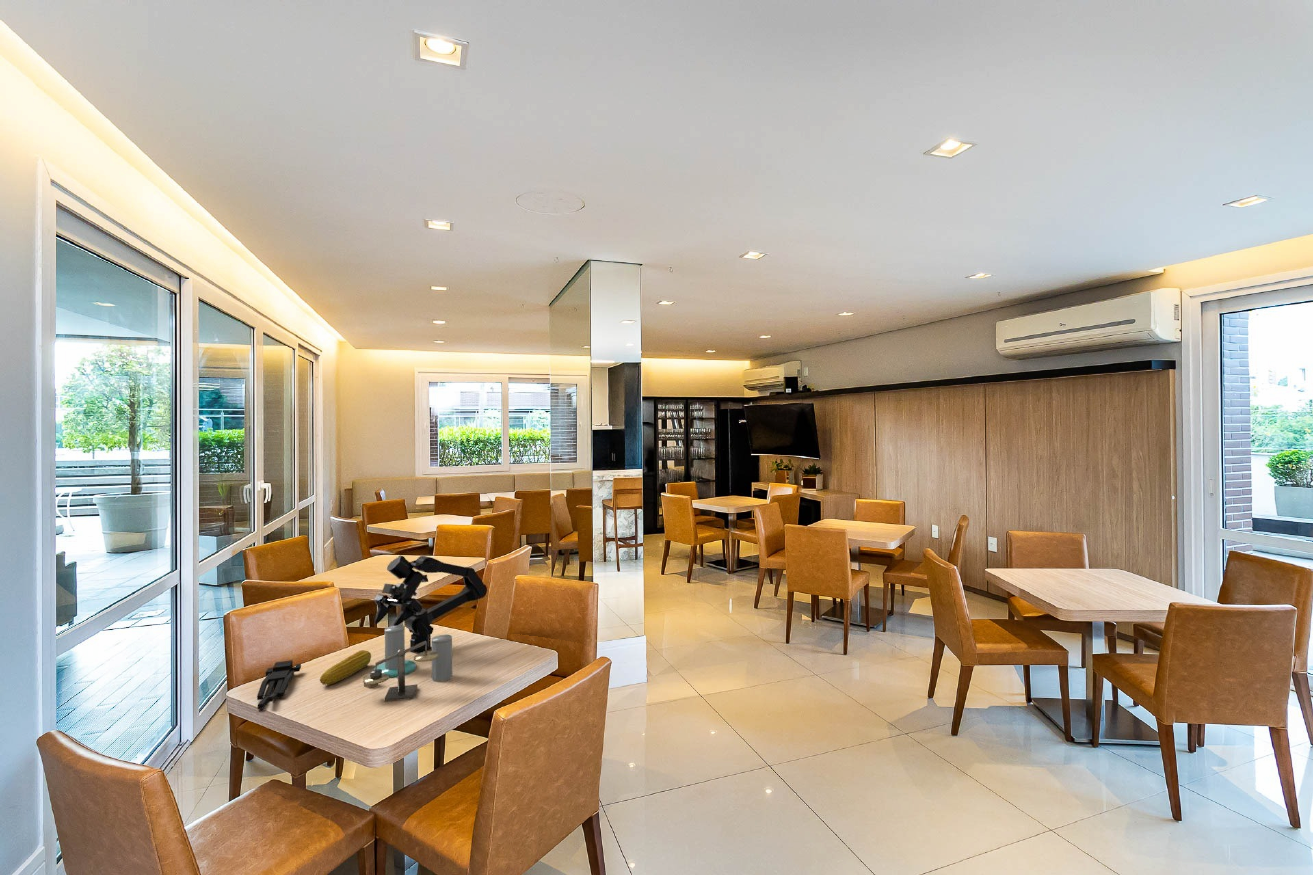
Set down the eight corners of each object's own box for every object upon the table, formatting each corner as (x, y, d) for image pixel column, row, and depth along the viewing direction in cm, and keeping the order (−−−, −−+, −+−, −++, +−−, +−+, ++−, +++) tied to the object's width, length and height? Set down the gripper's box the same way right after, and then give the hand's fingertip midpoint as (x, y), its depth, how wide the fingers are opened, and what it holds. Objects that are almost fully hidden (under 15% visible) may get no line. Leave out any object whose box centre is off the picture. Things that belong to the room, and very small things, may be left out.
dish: (399, 661, 208) (399, 657, 208) (424, 667, 202) (423, 663, 202) (365, 673, 197) (365, 669, 197) (389, 680, 190) (389, 676, 190)
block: (372, 683, 188) (372, 673, 189) (378, 685, 187) (378, 675, 187) (363, 686, 186) (363, 677, 186) (369, 688, 184) (369, 678, 184)
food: (359, 664, 206) (359, 647, 206) (374, 665, 205) (373, 648, 205) (315, 688, 185) (315, 669, 185) (331, 689, 184) (331, 670, 184)
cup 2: (443, 673, 196) (443, 633, 196) (456, 676, 193) (456, 636, 193) (427, 679, 191) (427, 638, 191) (440, 682, 187) (440, 641, 188)
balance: (439, 685, 185) (439, 636, 186) (436, 695, 178) (436, 644, 178) (366, 693, 180) (366, 642, 180) (360, 704, 172) (360, 651, 173)
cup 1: (397, 662, 204) (397, 624, 204) (408, 665, 200) (408, 626, 201) (380, 668, 198) (380, 629, 199) (392, 671, 195) (392, 631, 195)
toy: (284, 711, 172) (301, 672, 199) (284, 694, 172) (300, 658, 199) (245, 717, 168) (268, 677, 196) (245, 700, 168) (267, 662, 196)
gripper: (377, 572, 216) (351, 610, 205) (415, 575, 208) (390, 615, 198) (395, 588, 223) (371, 626, 212) (433, 592, 215) (409, 632, 205)
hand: (384, 624), depth 207 cm, fingers open, 9 cm apart
